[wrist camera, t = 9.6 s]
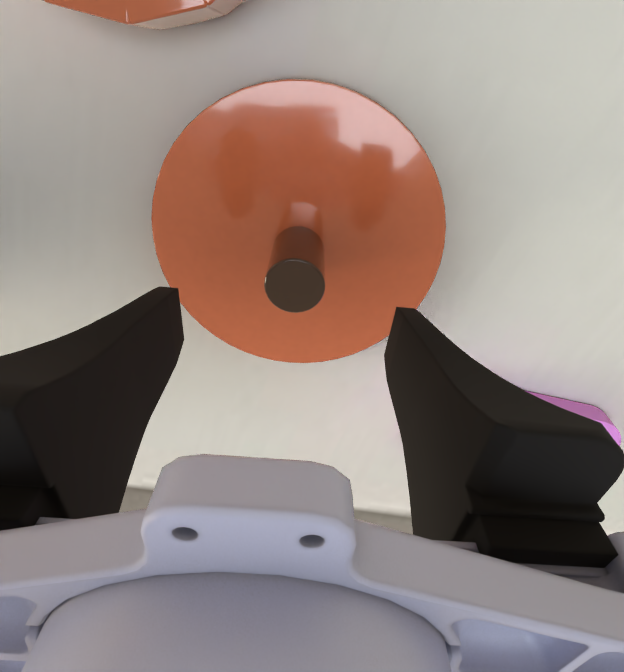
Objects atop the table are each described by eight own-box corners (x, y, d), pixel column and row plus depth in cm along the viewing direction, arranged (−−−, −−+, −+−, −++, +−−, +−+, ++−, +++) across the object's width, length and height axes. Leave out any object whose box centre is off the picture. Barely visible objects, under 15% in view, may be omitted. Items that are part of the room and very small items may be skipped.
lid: (210, 364, 24) (189, 423, 20) (108, 113, 16) (43, 131, 13) (438, 335, 22) (463, 392, 19) (441, 44, 15) (484, 40, 11)
